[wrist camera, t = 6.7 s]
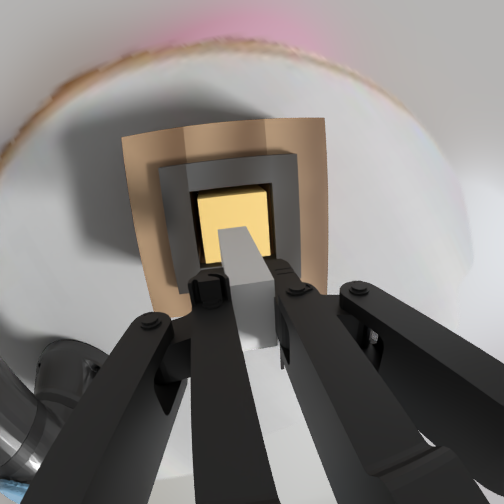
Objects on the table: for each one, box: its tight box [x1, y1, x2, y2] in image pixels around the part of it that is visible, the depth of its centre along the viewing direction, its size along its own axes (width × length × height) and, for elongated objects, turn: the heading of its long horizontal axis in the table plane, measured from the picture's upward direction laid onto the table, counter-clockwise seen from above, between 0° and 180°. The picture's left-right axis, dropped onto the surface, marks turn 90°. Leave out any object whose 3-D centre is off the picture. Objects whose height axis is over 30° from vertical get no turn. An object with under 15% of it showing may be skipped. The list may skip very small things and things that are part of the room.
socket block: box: [121, 118, 328, 318], centre depth 25 cm, size 14×14×11 cm
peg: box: [197, 184, 270, 264], centre depth 24 cm, size 4×4×9 cm
